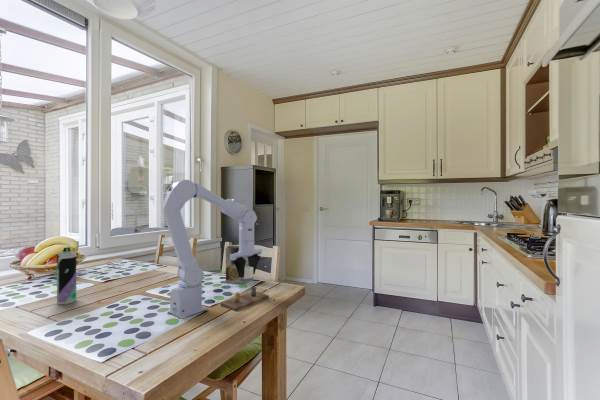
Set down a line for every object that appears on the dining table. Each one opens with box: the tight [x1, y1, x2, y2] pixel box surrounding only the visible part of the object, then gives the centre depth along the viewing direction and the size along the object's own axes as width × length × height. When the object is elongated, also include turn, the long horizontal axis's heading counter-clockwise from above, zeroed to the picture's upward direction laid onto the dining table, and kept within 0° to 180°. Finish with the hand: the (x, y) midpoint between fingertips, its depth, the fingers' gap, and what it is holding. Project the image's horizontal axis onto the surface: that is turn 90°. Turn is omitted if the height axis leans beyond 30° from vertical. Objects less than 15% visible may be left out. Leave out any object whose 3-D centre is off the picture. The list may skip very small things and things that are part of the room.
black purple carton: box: [56, 247, 77, 305], centre depth 102 cm, size 6×6×20 cm
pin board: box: [220, 286, 270, 312], centre depth 102 cm, size 16×8×4 cm, turn 143°
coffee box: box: [225, 245, 249, 284], centre depth 128 cm, size 9×6×16 cm
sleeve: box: [240, 266, 254, 283], centre depth 106 cm, size 5×5×4 cm
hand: (246, 275), depth 106 cm, fingers closed on sleeve, 5 cm apart
